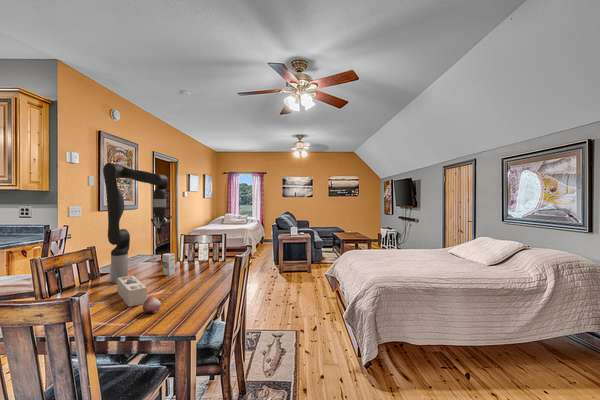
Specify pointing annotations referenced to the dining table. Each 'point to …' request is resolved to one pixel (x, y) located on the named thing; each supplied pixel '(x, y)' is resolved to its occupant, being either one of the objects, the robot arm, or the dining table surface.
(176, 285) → the dining table surface
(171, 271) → the syrup box
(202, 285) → the dining table surface
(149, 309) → the onion
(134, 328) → the dining table surface
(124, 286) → the block
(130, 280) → the slate button
